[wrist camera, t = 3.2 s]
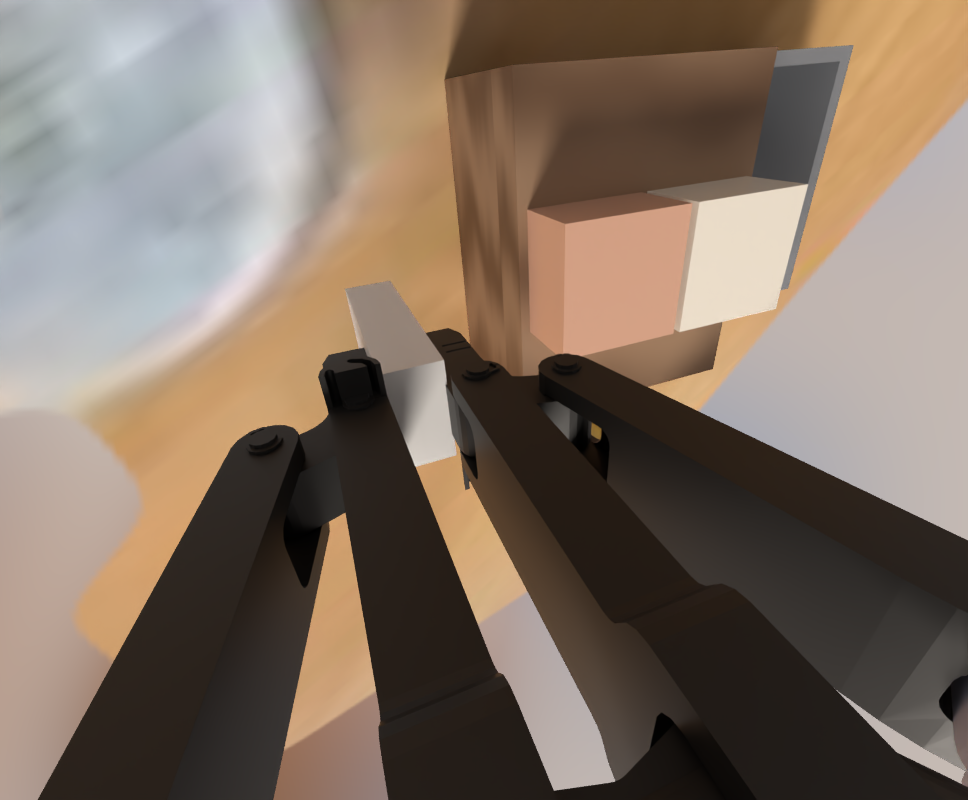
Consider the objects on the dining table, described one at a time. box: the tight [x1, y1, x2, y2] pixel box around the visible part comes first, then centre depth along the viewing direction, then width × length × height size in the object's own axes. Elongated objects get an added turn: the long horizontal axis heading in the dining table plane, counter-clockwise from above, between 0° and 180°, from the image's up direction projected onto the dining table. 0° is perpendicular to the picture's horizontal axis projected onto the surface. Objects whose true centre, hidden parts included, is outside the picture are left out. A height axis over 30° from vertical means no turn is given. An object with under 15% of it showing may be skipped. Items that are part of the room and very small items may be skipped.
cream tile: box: [647, 176, 808, 332], centre depth 20 cm, size 5×5×3 cm
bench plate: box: [445, 47, 778, 387], centre depth 24 cm, size 14×11×8 cm
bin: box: [752, 45, 853, 290], centre depth 27 cm, size 12×12×5 cm
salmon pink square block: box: [527, 192, 693, 356], centre depth 19 cm, size 5×5×3 cm
